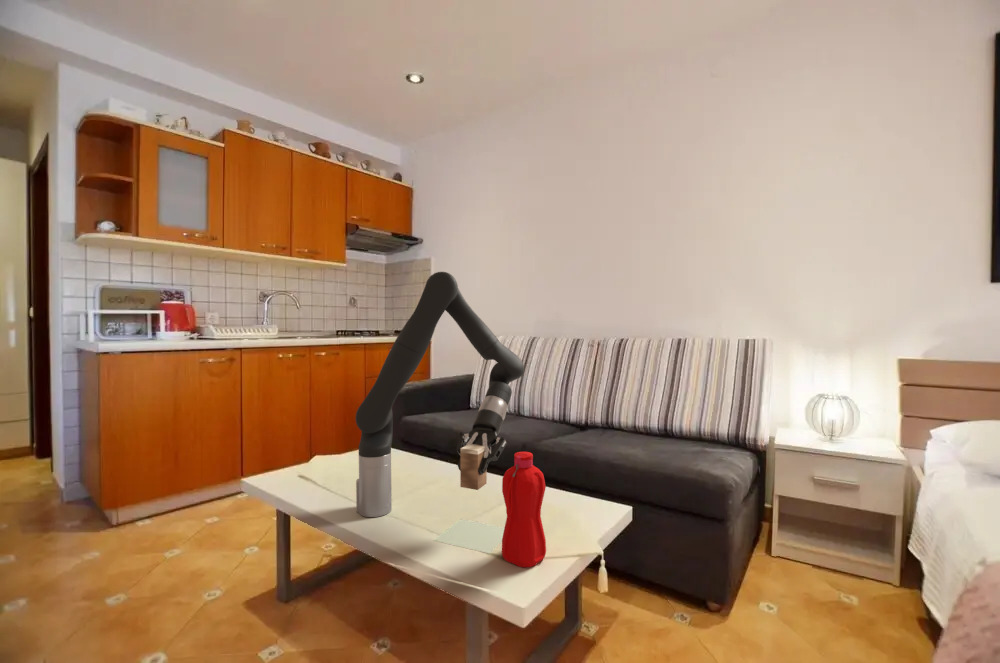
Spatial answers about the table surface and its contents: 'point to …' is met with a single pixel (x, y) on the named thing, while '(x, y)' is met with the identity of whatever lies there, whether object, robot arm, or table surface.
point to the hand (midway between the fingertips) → (470, 471)
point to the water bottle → (523, 512)
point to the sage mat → (473, 535)
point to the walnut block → (472, 467)
